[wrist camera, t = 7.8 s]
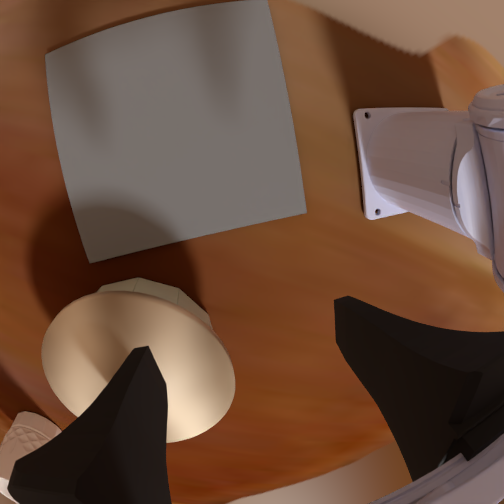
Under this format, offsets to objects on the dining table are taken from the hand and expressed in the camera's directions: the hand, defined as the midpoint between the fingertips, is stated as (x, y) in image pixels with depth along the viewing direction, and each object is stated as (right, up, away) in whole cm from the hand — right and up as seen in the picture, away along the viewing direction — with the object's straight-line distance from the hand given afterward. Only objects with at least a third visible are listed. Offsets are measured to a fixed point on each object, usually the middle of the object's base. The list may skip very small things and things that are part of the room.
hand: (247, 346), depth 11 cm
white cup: (-24, -17, +13) cm, 32 cm away
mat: (-5, +11, +6) cm, 14 cm away
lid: (-7, -5, +7) cm, 11 cm away
